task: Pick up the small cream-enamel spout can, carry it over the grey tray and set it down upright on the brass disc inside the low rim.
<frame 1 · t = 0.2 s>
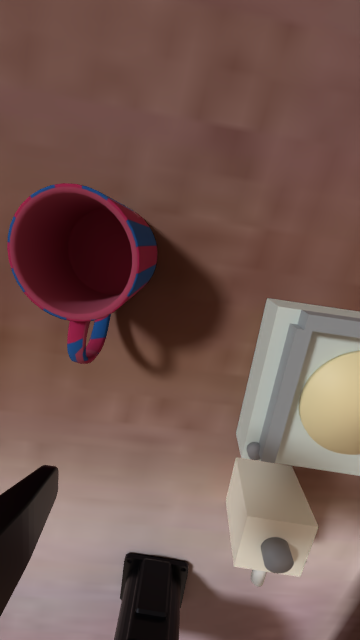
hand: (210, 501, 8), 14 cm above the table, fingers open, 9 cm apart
spout can: (257, 483, 25), on the table
mug: (109, 274, 21), on the table
grey tray: (337, 383, 22), on the table
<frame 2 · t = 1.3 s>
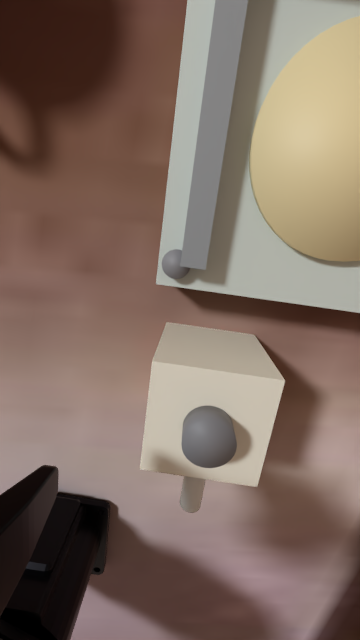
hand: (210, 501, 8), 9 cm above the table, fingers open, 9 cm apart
spout can: (203, 368, 16), on the table
grey tray: (322, 172, 13), on the table
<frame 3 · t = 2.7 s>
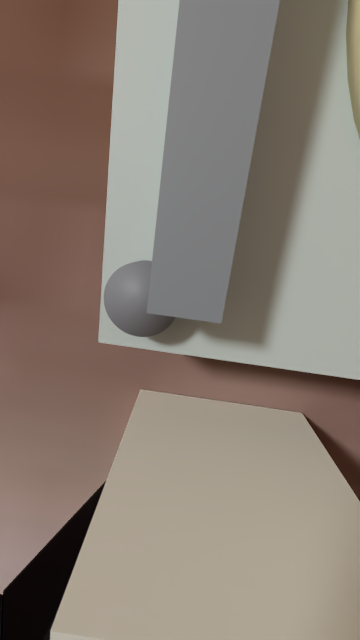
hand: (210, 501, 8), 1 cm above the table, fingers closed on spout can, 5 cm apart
spout can: (207, 467, 9), on the table, touching gripper
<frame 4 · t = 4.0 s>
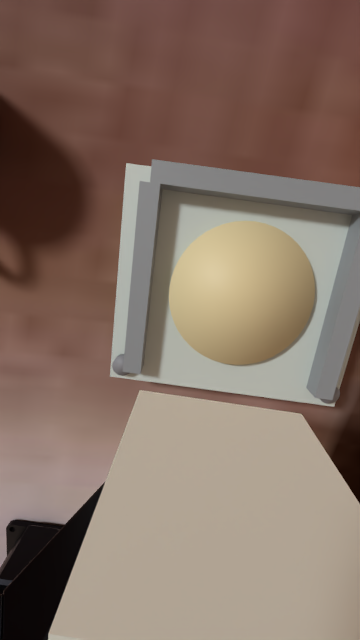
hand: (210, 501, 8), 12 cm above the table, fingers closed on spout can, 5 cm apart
spout can: (207, 468, 9), point 11 cm above the table, touching gripper
grey tray: (232, 289, 18), on the table
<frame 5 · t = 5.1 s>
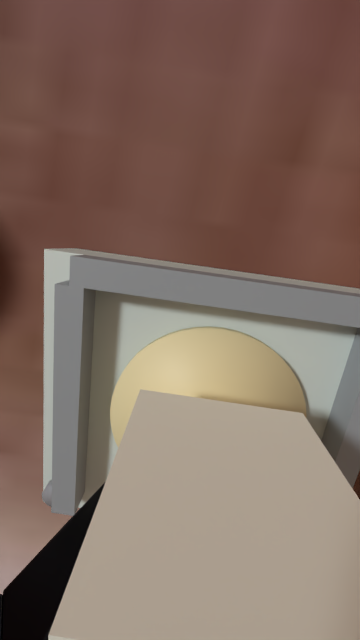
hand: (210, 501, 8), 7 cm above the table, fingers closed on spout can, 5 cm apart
spout can: (208, 467, 9), point 6 cm above the table, touching gripper
grey tray: (203, 384, 14), on the table
when the fingers open (5 cm above the table, at t = 5.7 s): spout can stays where it is, resting on grey tray.
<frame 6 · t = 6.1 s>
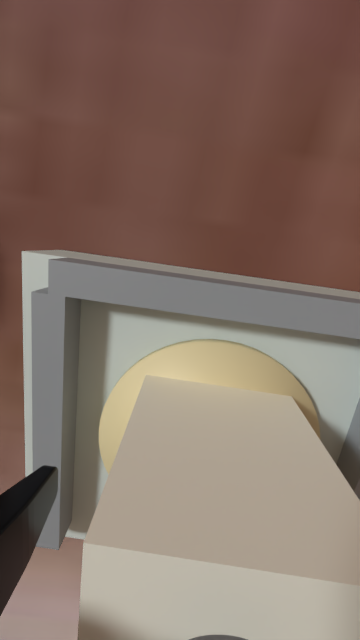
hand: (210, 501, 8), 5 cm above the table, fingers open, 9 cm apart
spout can: (206, 446, 10), point 3 cm above the table, touching grey tray
grey tray: (203, 399, 13), on the table
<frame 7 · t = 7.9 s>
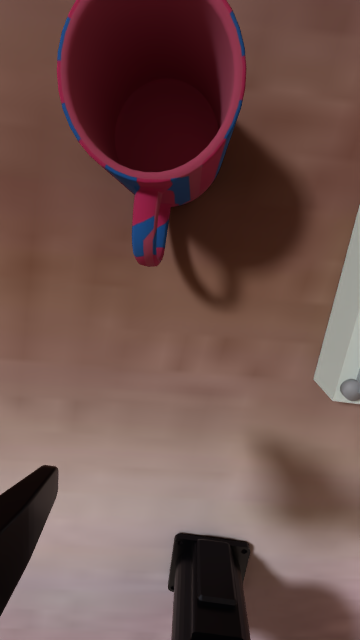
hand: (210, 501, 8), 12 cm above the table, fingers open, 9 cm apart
mug: (162, 177, 17), on the table
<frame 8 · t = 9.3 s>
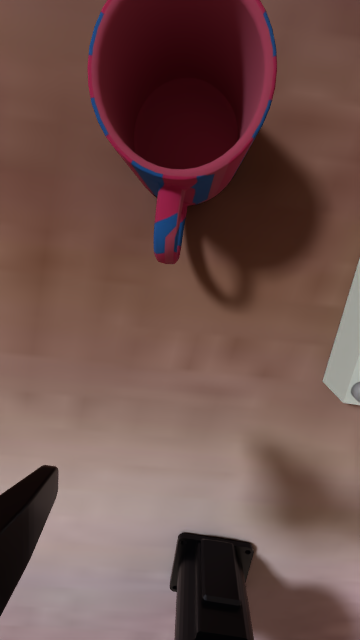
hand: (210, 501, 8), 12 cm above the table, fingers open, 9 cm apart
mug: (179, 176, 17), on the table
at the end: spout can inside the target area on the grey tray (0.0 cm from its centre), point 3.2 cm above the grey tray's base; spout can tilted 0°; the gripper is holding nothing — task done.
